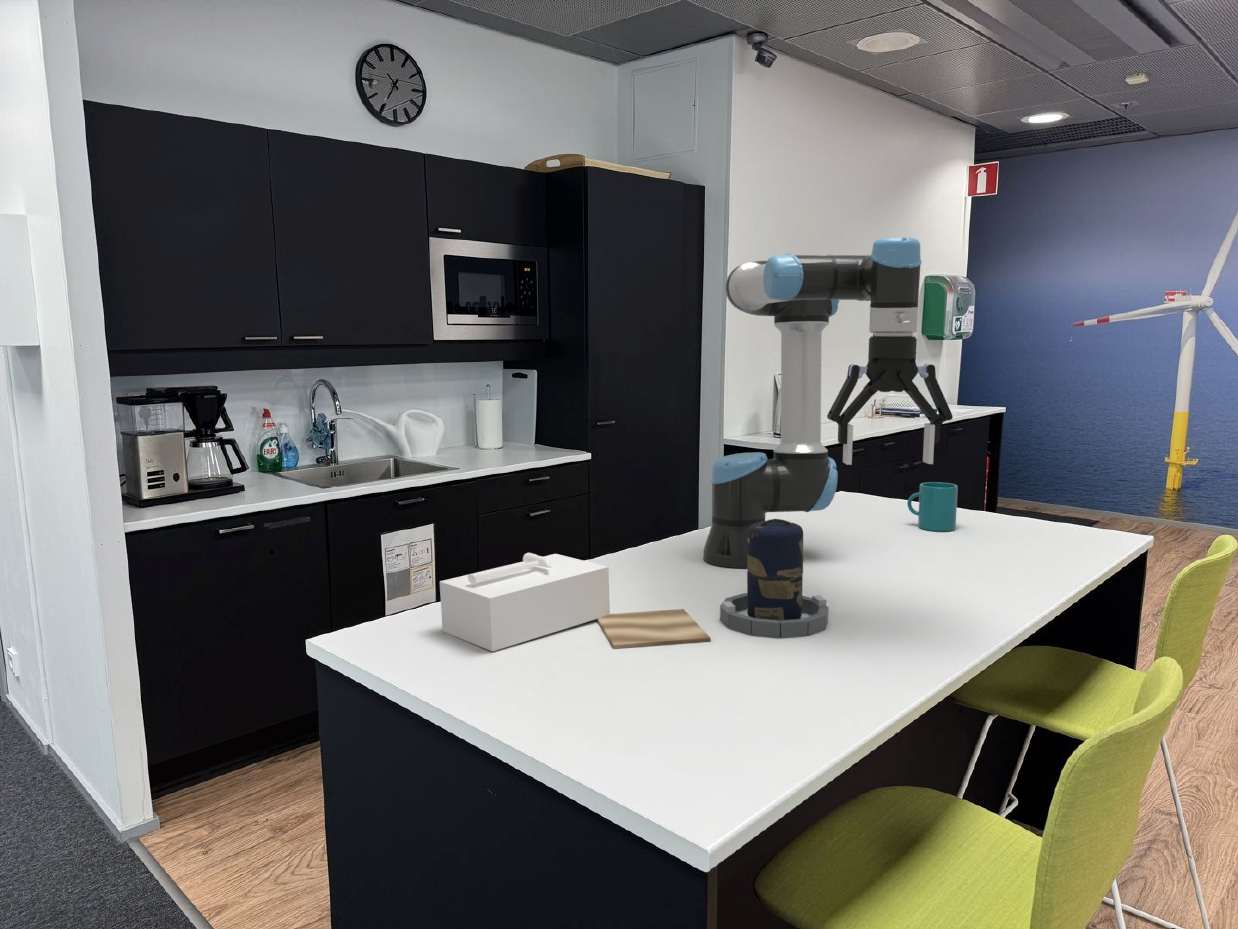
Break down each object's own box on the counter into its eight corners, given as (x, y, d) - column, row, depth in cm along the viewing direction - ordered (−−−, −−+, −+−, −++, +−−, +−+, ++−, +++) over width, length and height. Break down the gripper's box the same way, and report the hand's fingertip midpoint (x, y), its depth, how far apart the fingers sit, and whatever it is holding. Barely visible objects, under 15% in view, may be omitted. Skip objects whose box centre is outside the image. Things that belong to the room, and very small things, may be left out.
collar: (708, 608, 165) (708, 590, 164) (801, 602, 168) (802, 584, 168) (741, 641, 147) (742, 620, 147) (845, 633, 151) (845, 612, 150)
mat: (595, 618, 160) (595, 615, 159) (683, 612, 163) (683, 609, 163) (613, 648, 144) (613, 645, 144) (710, 641, 147) (710, 637, 147)
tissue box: (609, 614, 159) (608, 553, 158) (492, 651, 142) (489, 583, 141) (557, 598, 170) (555, 541, 168) (442, 631, 153) (438, 568, 151)
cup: (910, 522, 239) (912, 480, 238) (958, 526, 233) (960, 483, 232) (902, 528, 231) (904, 485, 230) (952, 533, 226) (954, 489, 224)
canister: (801, 631, 152) (804, 525, 150) (744, 627, 154) (746, 523, 152) (801, 613, 162) (804, 514, 159) (748, 610, 163) (749, 512, 161)
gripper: (822, 335, 145) (818, 467, 148) (977, 334, 145) (970, 466, 149) (811, 334, 152) (808, 460, 155) (959, 334, 153) (952, 459, 156)
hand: (887, 463), depth 152 cm, fingers open, 13 cm apart
